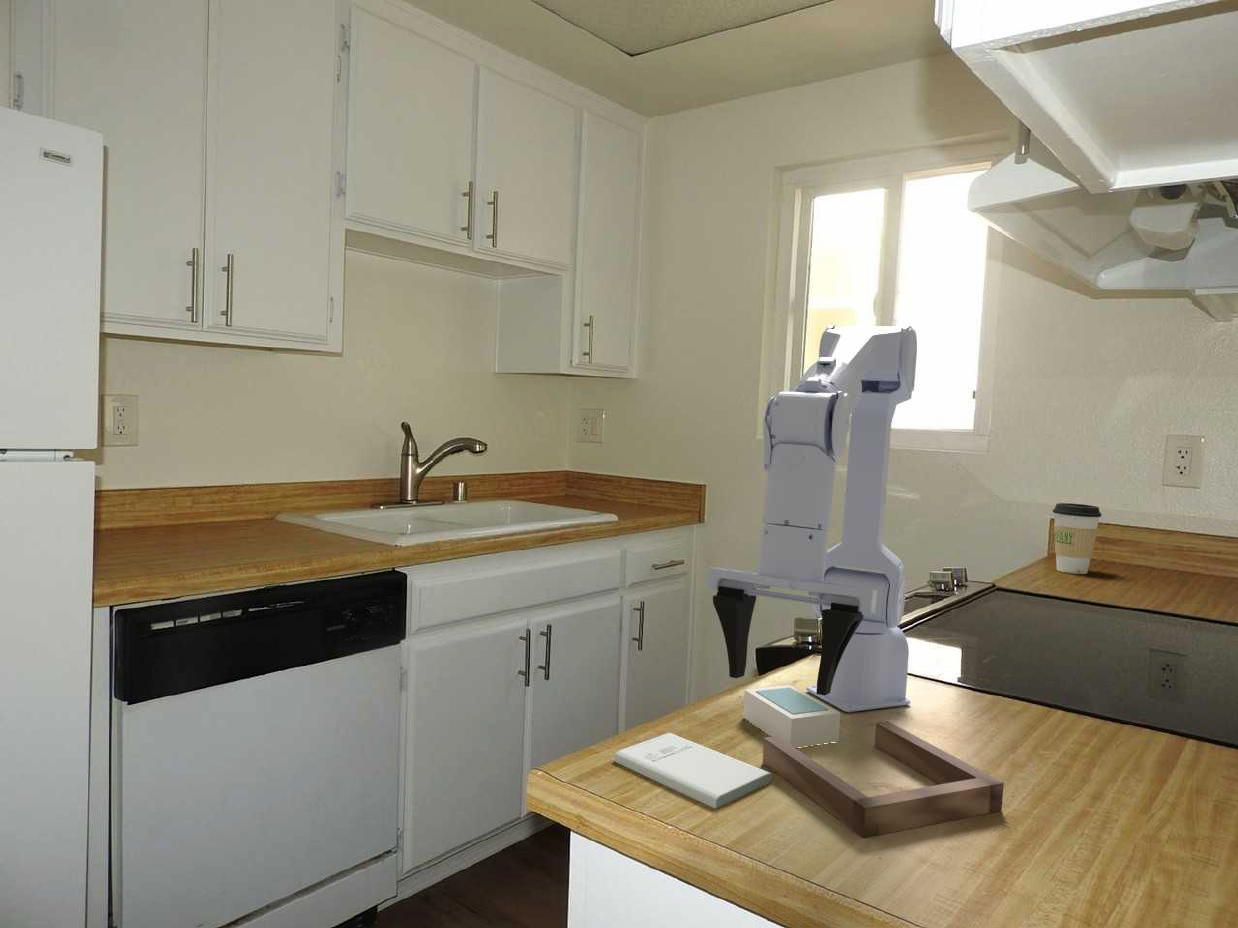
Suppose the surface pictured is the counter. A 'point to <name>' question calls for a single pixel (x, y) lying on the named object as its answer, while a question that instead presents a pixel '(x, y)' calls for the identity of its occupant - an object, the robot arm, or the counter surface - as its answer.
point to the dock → (870, 816)
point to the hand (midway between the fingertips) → (778, 684)
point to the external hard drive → (693, 769)
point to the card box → (791, 715)
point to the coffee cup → (1075, 536)
